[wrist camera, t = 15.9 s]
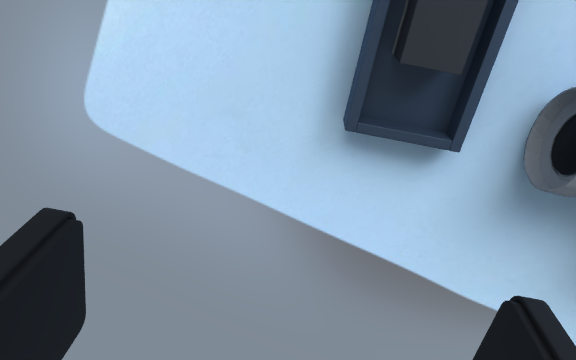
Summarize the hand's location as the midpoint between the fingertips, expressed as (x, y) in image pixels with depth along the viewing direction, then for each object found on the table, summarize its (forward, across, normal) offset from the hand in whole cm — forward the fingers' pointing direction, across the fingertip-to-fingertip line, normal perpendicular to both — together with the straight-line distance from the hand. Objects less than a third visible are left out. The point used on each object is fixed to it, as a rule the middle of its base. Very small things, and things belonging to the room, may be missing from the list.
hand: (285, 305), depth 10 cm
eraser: (+26, -8, -6) cm, 28 cm away
